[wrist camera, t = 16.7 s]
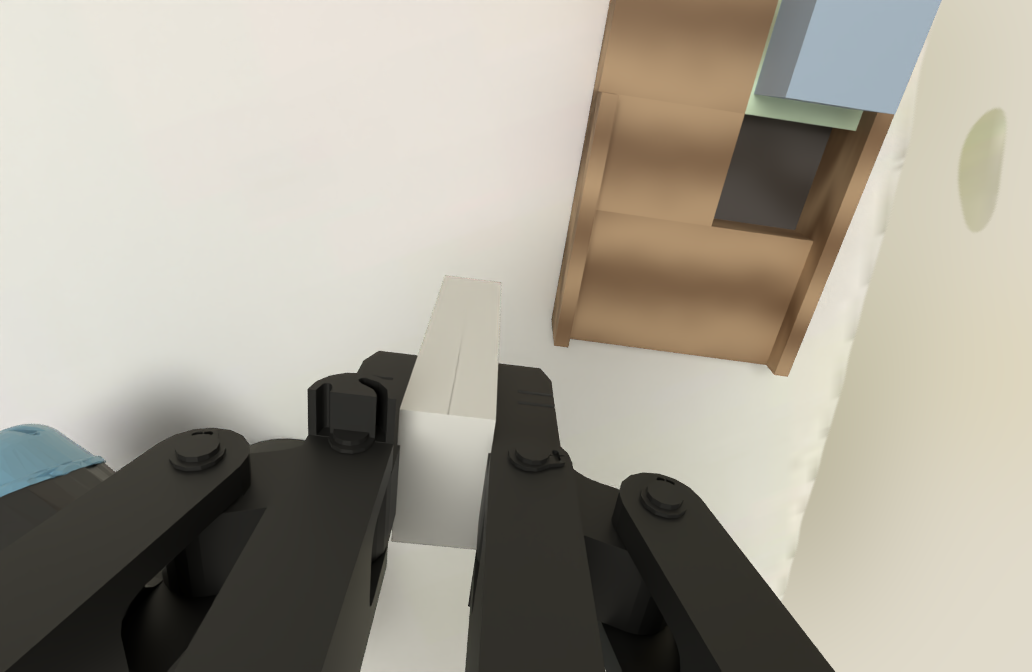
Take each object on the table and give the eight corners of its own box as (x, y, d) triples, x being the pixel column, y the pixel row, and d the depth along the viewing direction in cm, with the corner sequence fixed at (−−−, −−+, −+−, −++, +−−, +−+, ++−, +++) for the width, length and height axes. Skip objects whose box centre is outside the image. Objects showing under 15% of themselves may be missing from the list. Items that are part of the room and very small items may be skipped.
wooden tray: (763, 348, 44) (787, 376, 40) (551, 319, 43) (554, 345, 39) (968, -197, 30) (1038, -239, 26) (656, -254, 29) (677, -307, 25)
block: (850, 109, 33) (895, 114, 29) (753, 94, 33) (785, 97, 29) (893, -7, 31) (948, -18, 27) (788, -24, 31) (828, -38, 27)
